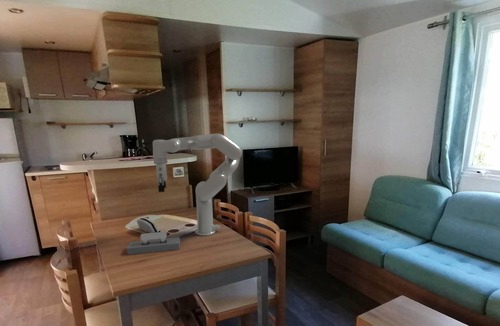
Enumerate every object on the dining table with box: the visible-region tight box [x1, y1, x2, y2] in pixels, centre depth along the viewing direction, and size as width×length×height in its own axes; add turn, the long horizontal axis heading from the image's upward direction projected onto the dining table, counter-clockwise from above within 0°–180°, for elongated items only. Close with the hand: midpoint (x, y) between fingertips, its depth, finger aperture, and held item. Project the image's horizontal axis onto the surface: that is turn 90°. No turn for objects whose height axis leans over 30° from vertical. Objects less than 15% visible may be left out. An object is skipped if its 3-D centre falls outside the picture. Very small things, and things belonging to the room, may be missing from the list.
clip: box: [140, 231, 168, 245], centre depth 148 cm, size 13×3×8 cm, turn 102°
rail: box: [126, 236, 181, 256], centre depth 148 cm, size 26×8×4 cm, turn 103°
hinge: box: [136, 216, 162, 233], centre depth 173 cm, size 17×5×10 cm, turn 52°
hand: (162, 189), depth 162 cm, fingers open, 9 cm apart
